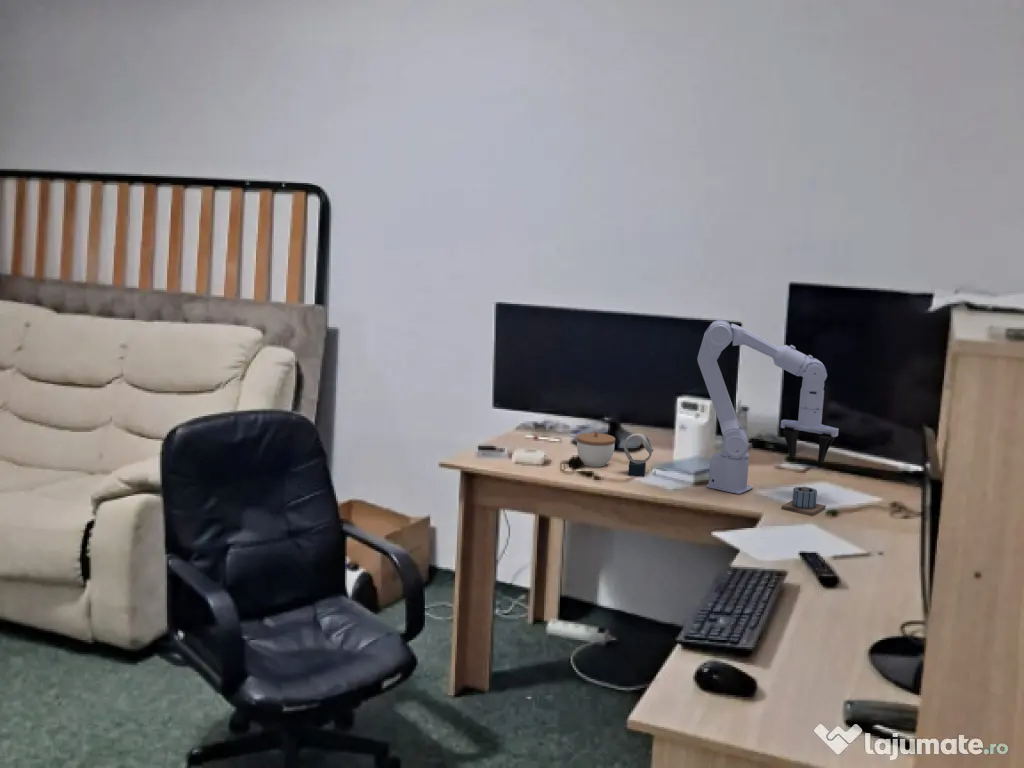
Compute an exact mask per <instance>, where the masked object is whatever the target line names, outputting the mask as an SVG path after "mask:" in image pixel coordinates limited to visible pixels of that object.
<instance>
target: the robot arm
mask: <svg viewBox="0 0 1024 768" xmlns="http://www.w3.org/2000/svg"><path fill="white" fill-rule="evenodd" d="M731 342H732V346H733V347H735V346H742V345H744V346H747V347H749V348H751V349H753V350H756V351H757V352H760V353H761V354H763V355H765V356H768V357H770V358H772V360H773V363H774V365H775V366H777V367H778V368H781V369H782V370H783V371H784V370H785V371H786V372H788V373H790V374H792V375H794V376H796V377H802V382H801V388H800V393H799V407H798V418H797V420H792V419H782V420H780V428H781V429H783V430H782V436H783V437H784V439H785V442H786V445H787V448H788V453H789V458H794V457H796V454H797V443H798V438H799V433H800V431H803V432H807V433H814V434H818V435H819V436H818V437H817V438H818V457H817V463H818V464H822V463H824V462H825V458H826V456H827V453H828V451H829V448H830V447H831V445H832V444H833V441H834V440H835V438H836V437H838V436H839V430H840V429H839V428H838V427H833V426H830V425H825V424H822V420H823V409H824V399H825V390H824V388H825V381H826V380H827V378H828V373H827V368H826V366H825V365H824V364H823V362H822V361H820V360H819V359H818V358H815V357H814V356H813V355H811V354H808V355H807V354H805V353H803V352H801V351H799V350H797V349H796V346H794V345H793V344H790V345H788V344H784V345H781V346H778V345H776V344H774V343H772V342H770V341H769V340H768V339H764V338H763V337H761V336H760V335H758V334H756V333H754V332H753V331H750V330H749V329H747V328H744V327H742V326H739V325H738V324H735V323H731V324H730V323H729V321H727V320H725V319H716V320H714V321H713V322H712V323H710V324H709V326H708V327H707V329H706V330H705V331H704V335H703V337H702V341H701V345H700V347H699V351H698V355H697V364H698V366H699V369H700V372H701V374H702V378H703V380H704V383H705V386H706V389H707V393H708V394H709V397H710V400H711V402H712V406H713V408H714V411H715V414H716V417H717V419H718V422H719V423H718V424H719V426H720V430H721V434H722V437H723V443H722V448H723V450H721V451H720V452H715V453H714V454H712V455H711V458H710V460H709V461H710V462H709V469H708V470H709V471H708V484H707V485H706V487H707V488H709V489H714V490H718V491H722V492H723V491H724V492H728V493H731V494H736V495H741V494H743V493H746V492H748V491H751V490H753V489H754V486H752V485H748V479H749V478H748V477H749V465H750V464H749V462H750V454H749V453H748V450H749V435H748V432H747V431H746V430H745V429H744V428H743V427H742V426H741V424H740V420H739V419H738V416H737V413H736V411H735V408H734V406H733V403H732V401H731V397H730V394H729V392H728V389H727V386H726V383H725V380H724V378H723V377H724V376H723V375H722V374H723V373H722V371H721V369H720V366H719V364H718V361H717V360H718V359H719V358H720V355H721V354H722V351H723V350H725V348H727V347H728V346H729V345H730V344H731Z"/></svg>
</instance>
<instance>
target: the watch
mask: <svg viewBox="0 0 1024 768" xmlns="http://www.w3.org/2000/svg"><path fill="white" fill-rule="evenodd" d="M634 437H639V438H640V439H641V442H642V445H643V448H644V449H645V451H646V452H647V453H648V456H647V457H646V458H645V459H642V460H641V459H634V458H632V455H631V453H630V452H629V449H628V445H627V444H628V443H627V442H628V441H629V440H630V439H631V438H634ZM623 450H624V454H625V456H626V459H628V461H629V464H628V475H627V476H628V477H639V478H640V477H642V478H645V476H646V467H647V466H646V465H647V462H648V461H650V458H651V457H652V453H653V452H654V448H653V445H652V443H651V441H650V438H649V437H648V436H647V435H646V434H645V435H644V434H643V433H638V432H637V433H633V434H630V435H628V436H627V438H626V439H625V441H624V445H623Z"/></svg>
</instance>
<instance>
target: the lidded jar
mask: <svg viewBox="0 0 1024 768" xmlns="http://www.w3.org/2000/svg"><path fill="white" fill-rule="evenodd" d="M576 440H577V441H576V449H577V454H578V457H579V459H580V460H581V461H582V463H583V464H584V466H587V467H592V468H593V467H594V468H599V467H600V468H602V467H606V464H608V463H609V462H610V461H611V460H612V457H613V455H614V452H615V447H616V446H615V445H616V444H615V443H616V437H615V436H613V435H610V434H605V433H599V431H597V430H596V431H595V430H594V432H586V433H580V434H578V435H577V436H576Z"/></svg>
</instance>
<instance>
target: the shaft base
mask: <svg viewBox="0 0 1024 768" xmlns="http://www.w3.org/2000/svg"><path fill="white" fill-rule="evenodd" d="M801 491H803V492H809V489H807V488H802V489H801ZM825 507H826V508H827V505H826V504H820V503H816V508H813V509H803V508H802V509H801V508H797V507H795V506H793V505H792V500H790V501H788V502H786V503H784V504H782V505H781V508H780V509H781V510H785V511H790V512H794V513H799V514H803V515H807V516H812V517H813V516H815V515H817V514H819V513H821V512H822V510H823V509H824V508H825ZM824 510H825V509H824ZM824 510H823V511H824Z"/></svg>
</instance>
